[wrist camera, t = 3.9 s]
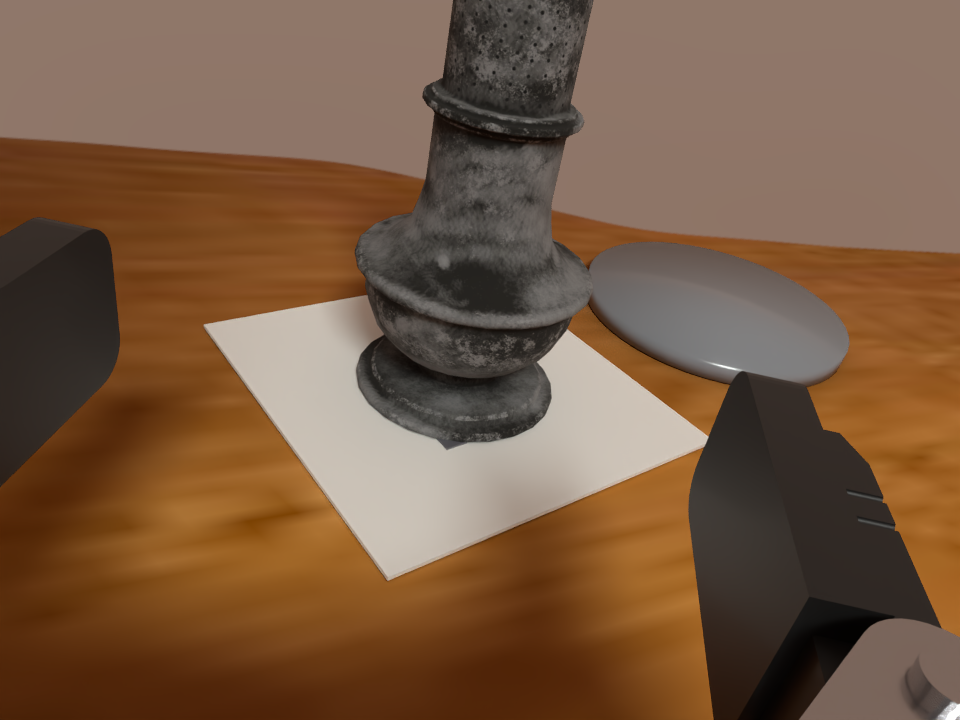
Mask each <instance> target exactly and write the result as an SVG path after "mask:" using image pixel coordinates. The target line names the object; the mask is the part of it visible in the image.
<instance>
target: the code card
mask: <svg viewBox="0 0 960 720" xmlns="http://www.w3.org/2000/svg"><path fill="white" fill-rule="evenodd" d="M204 328H205V330H206V331H207V333H208V334H209V335H210V337H211V338H212V340H213V341H214V342H215V344H216V345H217V346H218V348H219V349H220V351H221V352H222V353H223V355H224V356H225V357H226V359H227V360H228V362H229V363H230V364H231V366H232V367H233V368H234V370H235V371H236V373H237V374H238V375H239V377H240V378H241V380H242V381H243V382H244V384H245V385H246V386H247V388H248V389H249V391H250V392H251V393H252V395H253V396H254V397H255V399H256V400H257V402H258V403H259V404H260V406H261V407H262V409H263V410H264V411H265V413H266V414H267V415H268V417H269V418H270V420H271V421H272V422H273V424H274V425H275V426H276V428H277V429H278V431H279V432H280V433H281V435H282V436H283V437H284V439H285V440H286V442H287V443H288V444H289V446H290V447H291V449H292V450H293V451H294V453H295V454H296V455H297V457H298V458H299V460H300V461H301V462H302V464H303V465H304V466H305V468H306V469H307V471H308V472H309V473H310V475H311V476H312V477H313V479H314V480H315V482H316V483H317V484H318V486H319V487H320V489H321V490H322V491H323V493H324V494H325V495H326V497H327V498H328V500H329V501H330V502H331V504H332V505H333V506H334V508H335V509H336V511H337V512H338V513H339V515H340V516H341V517H342V519H343V520H344V522H345V523H346V524H347V526H348V527H349V529H350V530H351V531H352V533H353V534H354V535H355V537H356V538H357V540H358V541H359V542H360V544H361V545H362V546H363V548H364V549H365V551H366V552H367V553H368V555H369V556H370V557H371V559H372V560H373V562H374V563H375V564H376V566H377V567H378V569H379V570H380V571H381V573H382V574H383V575H384V577H385V578H386V580H387V581H388V580H391V579H393V578H395V577H398V576H400V575H402V574H405V573H407V572H410V571H412V570H414V569H417V568H419V567H421V566H424V565H426V564H428V563H431V562H433V561H436V560H438V559H440V558H443V557H445V556H447V555H450V554H452V553H454V552H457V551H459V550H461V549H464V548H466V547H469V546H471V545H473V544H476V543H478V542H480V541H483V540H485V539H487V538H490V537H492V536H494V535H497V534H499V533H502V532H504V531H506V530H509V529H511V528H513V527H516V526H518V525H520V524H523V523H525V522H528V521H530V520H532V519H535V518H537V517H539V516H542V515H544V514H546V513H549V512H551V511H553V510H556V509H558V508H561V507H563V506H565V505H568V504H570V503H572V502H575V501H577V500H579V499H582V498H584V497H587V496H589V495H591V494H594V493H596V492H598V491H601V490H603V489H605V488H608V487H610V486H612V485H615V484H617V483H620V482H622V481H624V480H627V479H629V478H631V477H634V476H636V475H638V474H641V473H643V472H645V471H648V470H650V469H653V468H655V467H657V466H660V465H662V464H664V463H667V462H669V461H671V460H674V459H676V458H679V457H681V456H683V455H686V454H688V453H690V452H693V451H695V450H697V449H700V448H702V447H704V446H705V444H706V442H707V439H708V436H707V435H705V434H704V433H703V432H701V431H700V430H699V429H697V428H696V427H695V426H693V425H692V424H691V423H689V422H688V421H687V420H686V419H684V418H683V417H682V416H680V415H679V414H678V413H676V412H675V411H674V410H672V409H671V408H670V407H668V406H667V405H666V404H664V403H663V402H662V401H661V400H659V399H658V398H657V397H655V396H654V395H653V394H651V393H650V392H649V391H647V390H646V389H645V388H643V387H642V386H641V385H640V384H638V383H637V382H636V381H634V380H633V379H632V378H630V377H629V376H628V375H626V374H625V373H624V372H622V371H621V370H620V369H618V368H617V367H616V366H615V365H613V364H612V363H611V362H609V361H608V360H607V359H605V358H604V357H603V356H601V355H600V354H599V353H597V352H596V351H595V350H593V349H592V348H591V347H590V346H588V345H587V344H586V343H584V342H583V341H582V340H580V339H579V338H578V337H576V336H575V335H574V334H572V333H571V332H570V331H568V330H567V331H566V332H565V333H564V334H563V336H562V337H561V338H560V339H559V341H558V342H557V343H556V344H555V345H554V347H553V348H552V349H551V350H550V352H548V353H547V354H546V355H545V356H544V357H543V358H541V359H540V360H539V361H537V363H538V364H539V365H540V366H541V367H542V368H543V370H544V371H545V373H546V375H547V377H548V379H549V381H550V383H551V395H552V399H551V403H550V405H549V407H548V410H547V412H546V415H545V416H544V417H543V418H542V419H541V420H540V421H539V422H538V423H537V424H536V425H535V426H534V427H533V428H531V429H529V430H527V431H525V432H523V433H521V434H519V435H516V436H514V437H510V438H506V439H501V440H496V441H491V442H457V441H450V440H444V439H437V438H432V437H429V436H426V435H423V434H420V433H417V432H414V431H411V430H408V429H406V428H404V427H402V426H400V425H399V424H397V423H395V422H393V421H391V420H389V419H387V418H386V417H384V416H383V415H382V414H381V413H380V412H379V411H377V410H376V409H375V408H374V407H373V406H372V405H371V404H369V403H368V401H367V400H366V398H365V396H364V395H363V393H362V392H361V390H360V388H359V386H358V380H357V374H356V368H357V364H358V361H359V358H360V355H361V353H362V352H363V351H364V350H365V348H366V347H367V346H368V345H369V344H370V343H371V342H372V341H374V340H376V339H377V338H379V337H381V336H382V335H384V333H383V332H382V331H381V329H380V328H379V327H378V325H377V323H376V320H375V317H374V314H373V311H372V308H371V306H370V303H369V300H368V295H364V296H358V297H353V298H347V299H342V300H336V301H331V302H325V303H320V304H314V305H309V306H303V307H298V308H292V309H287V310H281V311H276V312H270V313H265V314H259V315H254V316H248V317H243V318H237V319H232V320H226V321H221V322H215V323H210V324H204Z"/></svg>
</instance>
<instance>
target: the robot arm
mask: <svg viewBox="0 0 960 720" xmlns="http://www.w3.org/2000/svg"><path fill="white" fill-rule="evenodd" d="M119 346H120V333H119V323H118V313H117V303H116V293H115V283H114V273H113V263H112V253H111V247H110V244H109V241H108V239H107V237H106V236H105V234H104V233H102V232H101V231H99V230H97V229H92V228H88V227H83V226H78V225H74V224H69V223H65V222H60V221H55V220H51V219H46V218H40V217H37V218H33V219H31V220H29V221H27V222H25V223H23V224H22V225H20V226H18V227H17V228H15V229H13V230H11V231H10V232H8V233H6V234H5V235H3V236H1V237H0V487H1V486H2V485H3V484H4V483H5V482H6V481H7V480H8V479H9V478H10V477H11V476H12V475H13V474H14V473H15V472H16V471H17V470H18V469H19V468H20V467H21V466H22V465H23V464H24V463H25V462H26V461H27V460H28V459H29V458H30V457H31V456H32V455H33V454H34V453H35V452H36V451H37V450H38V449H39V448H40V447H41V446H42V445H43V444H44V443H45V442H46V441H47V440H48V439H49V438H50V437H51V436H52V435H53V434H54V433H55V432H56V431H57V430H58V429H59V428H60V427H61V426H62V425H63V424H64V423H65V422H66V421H67V420H68V419H69V418H70V417H71V416H72V415H73V414H74V413H75V412H76V411H77V410H78V409H79V408H80V407H81V406H82V405H83V404H84V403H85V402H86V401H87V400H88V399H89V398H90V397H91V396H92V395H93V394H94V393H95V392H96V391H97V390H98V389H99V388H100V387H101V386H102V385H103V384H104V383H105V382H106V381H107V379H108V378H109V376H110V374H111V373H112V371H113V368H114V366H115V363H116V360H117V357H118V353H119ZM882 501H883V495H882V493H881V490H880V488H879V486H878V483H877V481H876V479H875V477H874V474H873V472H872V470H871V468H870V465H869V464H868V463H867V462H866V461H865V460H864V459H863V458H862V456H861V455H860V454H859V453H858V452H857V451H856V450H855V449H854V448H853V447H852V446H851V445H850V444H849V443H848V442H847V441H846V439H845V438H844V437H843V436H842V435H841V434H840V433H836V432H832V431H827V430H823V428H822V426H821V423H820V420H819V418H818V415H817V413H816V410H815V407H814V405H813V402H812V400H811V397H810V395H809V392H808V390H807V388H806V386H805V385H803V384H801V383H796V382H792V381H787V380H782V379H778V378H773V377H769V376H764V375H759V374H755V373H750V372H745V371H741V372H739V373H738V374H737V375H736V376H735V377H734V379H733V381H732V382H731V384H730V386H729V389H728V391H727V393H726V396H725V398H724V401H723V403H722V406H721V408H720V410H719V413H718V415H717V418H716V420H715V423H714V425H713V427H712V430H711V432H710V435H709V437H708V439H707V442H706V444H705V447H704V449H703V452H702V454H701V456H700V459H699V461H698V464H697V466H696V469H695V472H694V476H693V479H692V484H691V489H690V495H689V522H690V530H691V538H692V547H693V555H694V563H695V571H696V579H697V587H698V595H699V603H700V612H701V620H702V628H703V636H704V644H705V652H706V660H707V668H708V677H709V685H710V693H711V701H712V709H713V717H714V720H960V637H958V636H956V635H954V634H952V633H950V632H948V631H946V630H944V629H942V628H941V626H940V624H939V621H938V619H937V617H936V614H935V612H934V610H933V608H932V605H931V603H930V601H929V599H928V596H927V594H926V592H925V590H924V587H923V585H922V583H921V581H920V578H919V576H918V574H917V572H916V569H915V567H914V565H913V563H912V560H911V558H910V556H909V553H908V551H907V549H906V547H905V544H904V542H903V540H902V538H901V535H900V533H899V532H898V531H895V525H896V524H895V522H894V520H893V517H892V515H891V513H890V511H889V508H888V506H887V504H885V503H882Z"/></svg>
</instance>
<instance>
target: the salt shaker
mask: <svg viewBox="0 0 960 720" xmlns="http://www.w3.org/2000/svg"><path fill="white" fill-rule="evenodd" d="M592 5H593V0H453V6H452V13H451V21H450V28H449V36H448V43H447V51H446V58H445V65H444V73H443V78H442V79H439V80H438V81H436V82H433V83H431V84H430V85H427V86H426V87H425V88H424V91H423V99H424V101H425V102H426V104H427V105H428V106H429V107H430V108H432V109H433V111H434V112H435V115H434V122H433V129H432V138H431V144H430V152H429V159H428V168H427V174H426V180H425V183H424V185H423V188H422V191H421V194H420V196H419V199H418V201H417V203H416V206H415V208H414V210H413V213H409V214H403V215H398V216H393V217H391V218H388V219H386V220H383V221H381V222H378V223H376V224H374V225H373V226H372V227H371V228H369V229H368V230H367V231H366V232H365V233H363V234H362V235H361V236H360V238H359V241H358V243H357V246H356V248H355V256H356V261H357V266H358V268H359V270H360V271H361V272H362V274H363V275H364V276H365V278H366V283H365V286H366V291H367V295H368V300H369V303H370V306H371V308H372V311H373V314H374V317H375V320H376V323H377V325H378V327H379V328H380V329H381V331H382V332H383V333H384V335H382V336H381V337H379V338H377V339H376V340H374V341H372V342H371V343H370V344H369V345H368V346H367V347H366V348H365V350H364V351H363V352H362V353H361V355H360V358H359V361H358V364H357V368H356V374H357V380H358V386H359V388H360V390H361V392H362V393H363V395H364V396H365V398H366V400H367V401H368V403H369V404H371V405H372V406H373V407H374V408H375V409H376V410H377V411H379V412H380V413H381V414H382V415H383V416H384V417H386V418H387V419H389V420H391V421H393V422H395V423H397V424H399V425H400V426H402V427H404V428H406V429H408V430H411V431H414V432H417V433H420V434H423V435H426V436H429V437H432V438H437V439H444V440H450V441H457V442H491V441H496V440H501V439H506V438H510V437H514V436H516V435H519V434H521V433H523V432H525V431H527V430H529V429H531V428H533V427H534V426H535V425H536V424H537V423H538V422H539V421H540V420H541V419H542V418H543V417H544V416H545V415H546V412H547V410H548V407H549V405H550V403H551V399H552V395H551V383H550V381H549V379H548V377H547V375H546V373H545V371H544V370H543V368H542V367H541V366H540V365H539V364H538V363H537V361H539V360H540V359H541V358H543V357H544V356H545V355H546V354H547V353H548V352H550V350H551V349H552V348H553V347H554V345H555V344H556V343H557V342H558V341H559V339H560V338H561V337H562V336H563V334H564V333H565V332H566V331H567V328H568V326H569V324H570V321H571V319H572V316H574V315H575V314H576V313H578V312H579V311H580V310H581V309H583V308H584V307H585V306H586V305H587V304H588V301H589V299H590V296H591V294H592V291H593V284H592V278H591V274H590V272H589V271H588V269H587V268H586V266H585V265H584V264H583V262H582V261H581V259H580V258H579V257H578V256H577V255H575V254H574V253H573V252H572V251H570V250H569V249H568V248H567V247H565V246H564V245H563V244H561V243H559V242H557V241H556V240H554V239H552V230H551V203H552V198H553V194H554V190H555V185H556V181H557V177H558V172H559V168H560V163H561V159H562V155H563V150H564V145H565V141H566V138H567V137H569V136H570V135H572V134H575V133H577V132H579V131H580V130H581V128H582V127H583V125H584V119H583V116H582V115H581V113H580V112H579V111H578V110H576V108H575V107H574V106H573V105H572V104H571V99H572V94H573V89H574V85H575V81H576V76H577V72H578V67H579V63H580V58H581V54H582V49H583V45H584V40H585V36H586V31H587V27H588V22H589V17H590V13H591V9H592Z"/></svg>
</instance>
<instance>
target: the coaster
mask: <svg viewBox="0 0 960 720" xmlns="http://www.w3.org/2000/svg"><path fill="white" fill-rule="evenodd" d="M589 272H590V274H591V278H592V284H593V291H592V294H591V296H590V299H589V301H588V304H589V305H590V307H591V309H592V311H593V312H594V313H595V315H596V316H597V317H598V318H599V320H600V321H601V322H602V323H603V324H604V325H605V326H607V327H608V328H609V329H610V330H611V331H612V332H613V333H615V334H616V335H617V336H618V337H620V338H621V339H622V340H624V341H625V342H627V343H628V344H630V345H632V346H633V347H635V348H636V349H638V350H640V351H642V352H643V353H645V354H647V355H649V356H651V357H653V358H655V359H657V360H659V361H661V362H663V363H665V364H668V365H670V366H673V367H675V368H678V369H680V370H683V371H685V372H688V373H691V374H694V375H697V376H700V377H703V378H707V379H711V380H714V381H718V382H722V383H727V384H731V382H732V381H733V379H734V377H735V376H736V375H737V374H738V373H739V372H741V371H745V372H750V373H755V374H759V375H764V376H769V377H773V378H778V379H782V380H787V381H792V382H796V383H801V384H803V385H805V386H806V387H809V386H812V385H815V384H818V383H821V382H823V381H825V380H827V379H829V378H830V377H831V376H832V375H834V374H835V373H836V372H837V370H838V368H839V367H840V365H841V363H842V361H843V359H844V357H845V355H846V353H847V351H848V347H849V335H848V333H847V330H846V327H845V326H844V324H843V323H842V321H841V319H840V318H839V317H838V316H837V315H836V313H835V312H834V311H833V310H832V309H831V308H830V307H829V306H828V305H827V304H826V303H824V302H823V301H822V300H821V299H819V298H818V297H817V296H816V295H814V294H813V293H811V292H810V291H808V290H807V289H805V288H804V287H802V286H801V285H799V284H797V283H795V282H794V281H792V280H790V279H788V278H786V277H784V276H782V275H780V274H778V273H776V272H774V271H772V270H770V269H767V268H765V267H763V266H760V265H758V264H755V263H753V262H750V261H747V260H744V259H742V258H739V257H736V256H732V255H729V254H726V253H722V252H718V251H714V250H710V249H706V248H701V247H696V246H691V245H684V244H677V243H665V242H637V243H629V244H623V245H619V246H615V247H612V248H610V249H607V250H605V251H603V252H602V253H600V254H599V255H598V256H597V257H595V258H594V260H593V261H592V263H591V264H590V268H589Z"/></svg>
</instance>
